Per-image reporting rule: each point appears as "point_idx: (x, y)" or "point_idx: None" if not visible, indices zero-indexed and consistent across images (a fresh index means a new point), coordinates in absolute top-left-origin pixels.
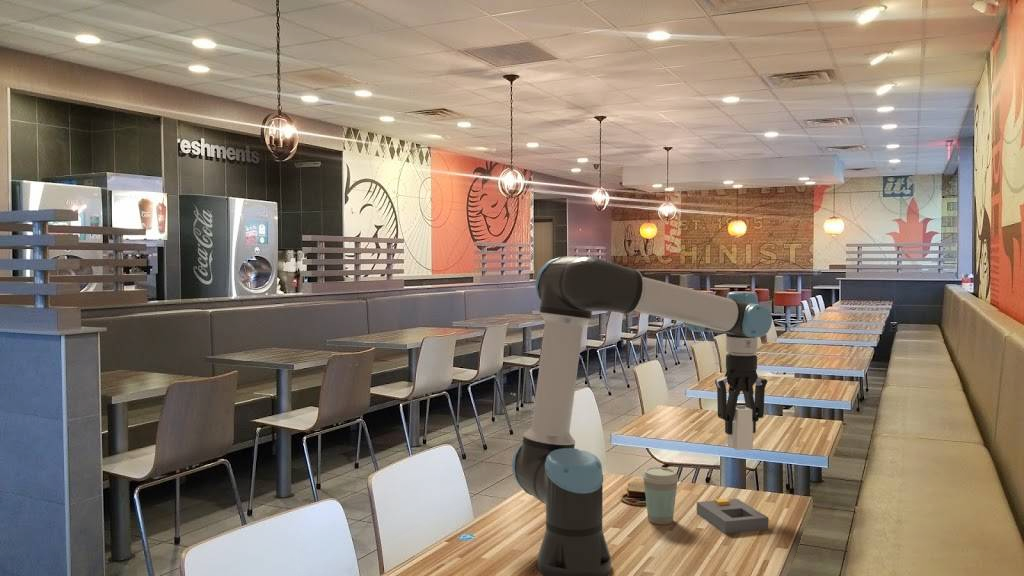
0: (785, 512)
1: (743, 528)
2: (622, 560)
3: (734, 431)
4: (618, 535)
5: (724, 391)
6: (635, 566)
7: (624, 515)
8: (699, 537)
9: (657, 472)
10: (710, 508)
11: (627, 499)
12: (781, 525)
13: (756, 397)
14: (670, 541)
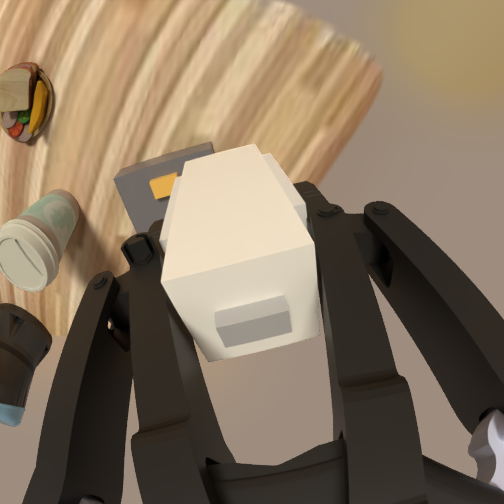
0: (310, 154)
1: None
2: (53, 324)
3: None
4: None
5: (109, 481)
6: None
7: (13, 192)
8: (121, 272)
9: (16, 267)
10: (137, 216)
11: (6, 127)
12: None
13: (436, 322)
14: (86, 284)
